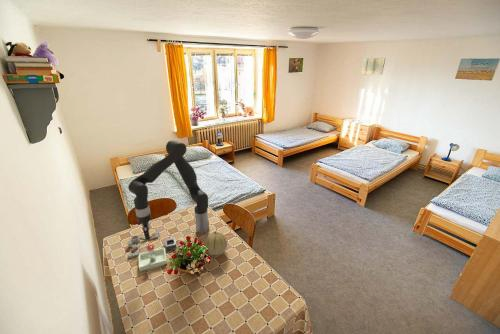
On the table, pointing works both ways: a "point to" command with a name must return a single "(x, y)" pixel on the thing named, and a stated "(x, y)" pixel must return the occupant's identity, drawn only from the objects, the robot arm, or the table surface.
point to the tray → (160, 260)
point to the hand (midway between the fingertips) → (147, 234)
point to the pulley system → (135, 240)
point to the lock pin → (151, 253)
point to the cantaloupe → (216, 243)
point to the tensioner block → (170, 244)
